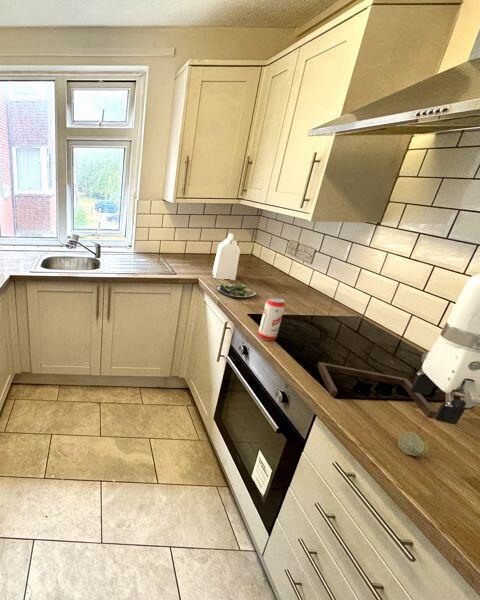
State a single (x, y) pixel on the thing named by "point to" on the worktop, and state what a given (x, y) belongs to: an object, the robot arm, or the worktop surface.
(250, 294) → the salad plate
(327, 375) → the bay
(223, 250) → the milk
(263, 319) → the beer can
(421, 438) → the pale green round lump
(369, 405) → the worktop surface
